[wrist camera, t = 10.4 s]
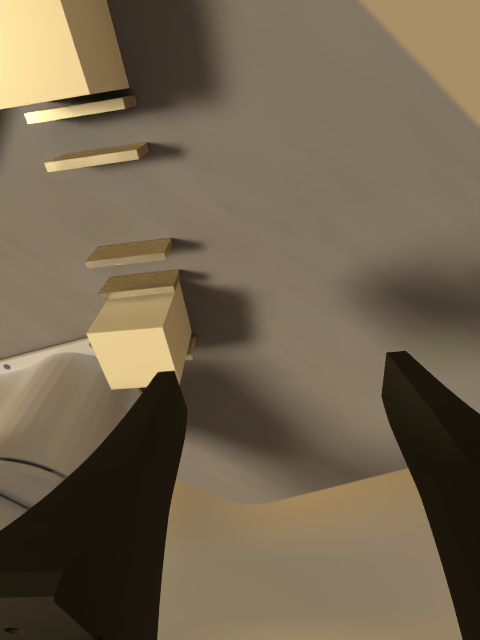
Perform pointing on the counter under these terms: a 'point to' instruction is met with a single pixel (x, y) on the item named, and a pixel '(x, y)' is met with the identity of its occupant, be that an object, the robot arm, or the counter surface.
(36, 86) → the block
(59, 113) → the clip holder
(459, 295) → the counter surface
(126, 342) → the beige small block
